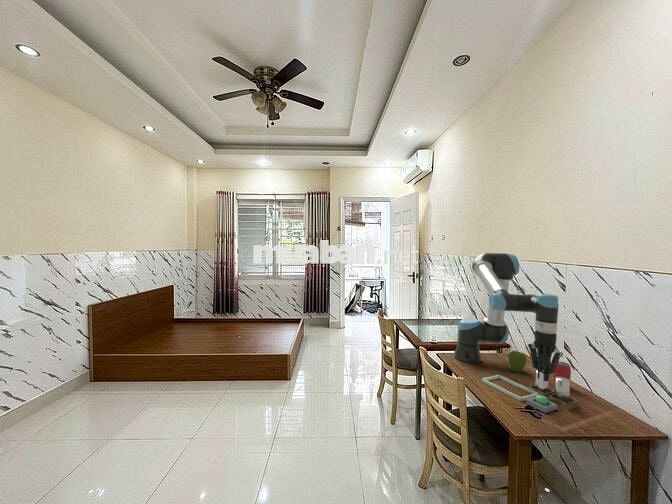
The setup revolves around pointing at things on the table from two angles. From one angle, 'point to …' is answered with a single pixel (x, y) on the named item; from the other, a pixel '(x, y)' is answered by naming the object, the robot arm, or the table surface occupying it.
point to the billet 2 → (562, 389)
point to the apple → (517, 361)
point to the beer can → (562, 371)
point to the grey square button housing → (545, 409)
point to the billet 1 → (538, 384)
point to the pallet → (551, 397)
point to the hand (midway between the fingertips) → (542, 387)
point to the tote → (486, 380)
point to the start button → (541, 399)
